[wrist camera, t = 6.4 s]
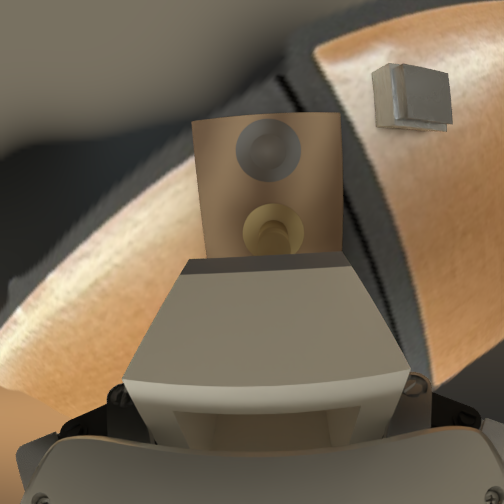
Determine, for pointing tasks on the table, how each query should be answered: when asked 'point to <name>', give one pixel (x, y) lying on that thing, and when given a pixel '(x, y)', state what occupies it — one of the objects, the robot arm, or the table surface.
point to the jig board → (270, 183)
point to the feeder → (412, 98)
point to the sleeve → (267, 357)
